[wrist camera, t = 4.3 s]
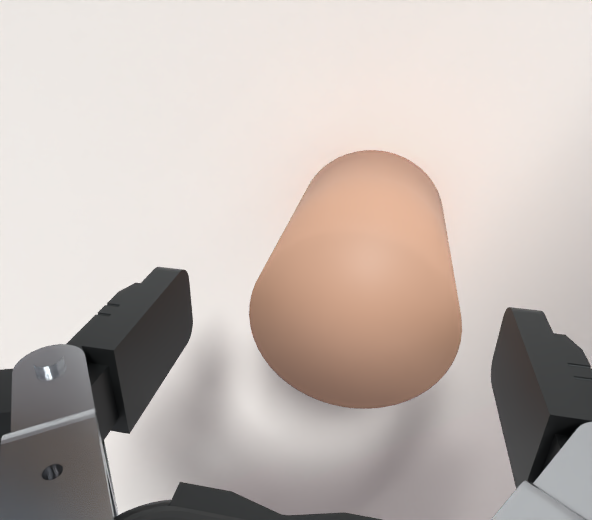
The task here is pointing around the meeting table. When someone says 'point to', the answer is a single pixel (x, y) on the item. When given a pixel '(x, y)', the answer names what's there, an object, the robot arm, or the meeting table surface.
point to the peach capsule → (361, 286)
